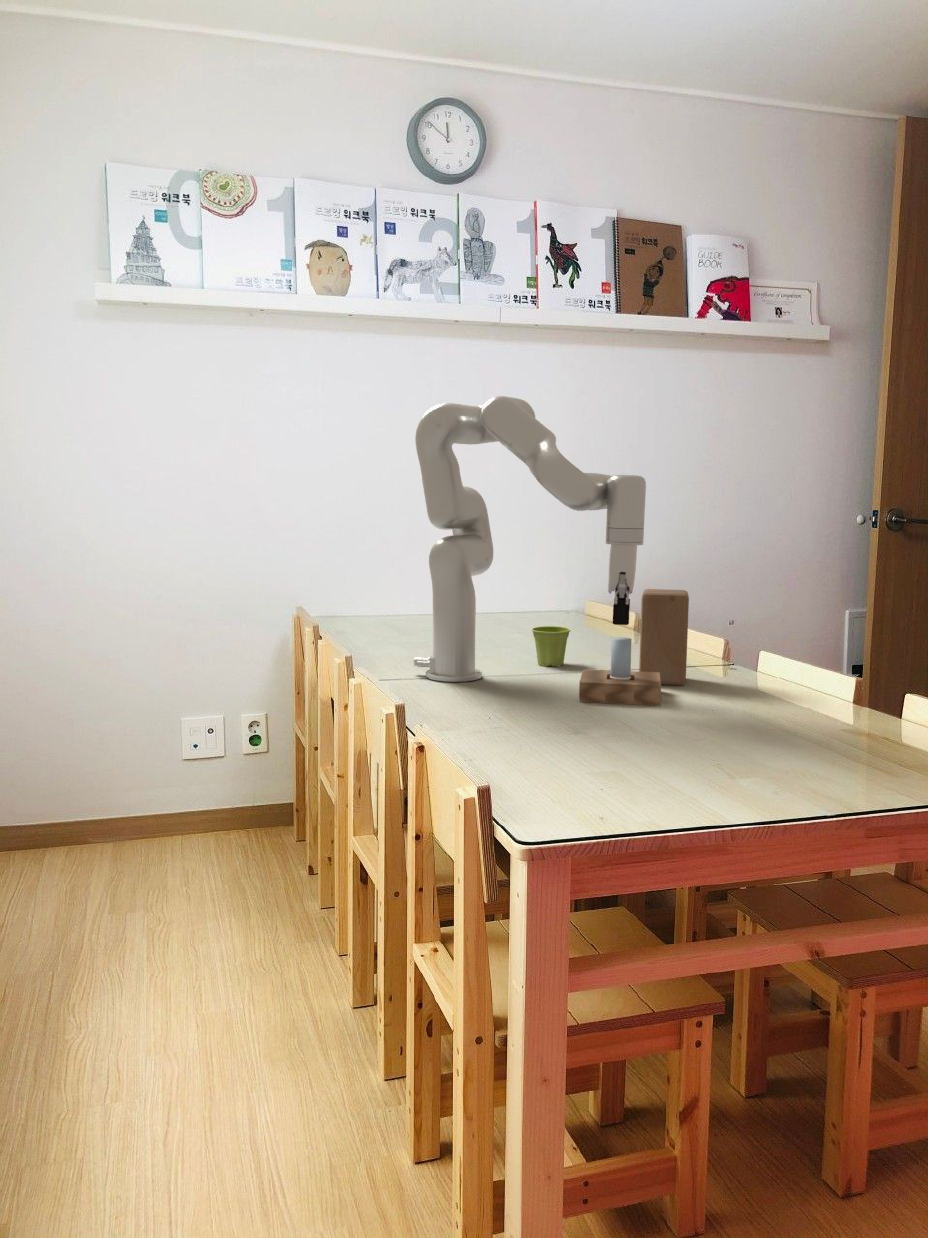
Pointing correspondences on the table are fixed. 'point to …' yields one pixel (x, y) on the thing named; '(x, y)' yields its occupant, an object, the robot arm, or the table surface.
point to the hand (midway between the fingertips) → (621, 621)
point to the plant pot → (550, 644)
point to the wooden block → (664, 634)
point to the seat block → (620, 688)
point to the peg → (620, 658)
